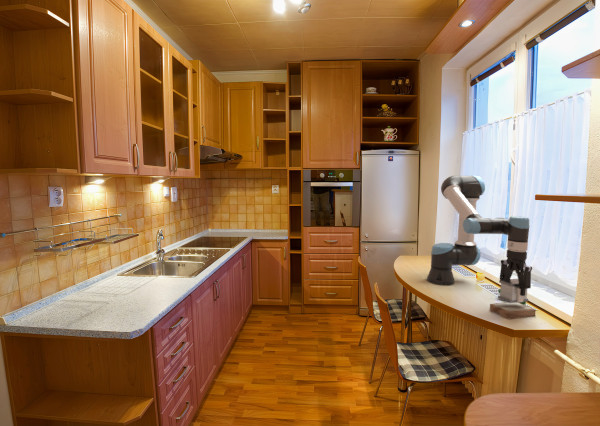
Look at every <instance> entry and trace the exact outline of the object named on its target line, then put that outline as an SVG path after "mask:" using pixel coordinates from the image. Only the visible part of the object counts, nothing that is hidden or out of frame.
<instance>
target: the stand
mask: <svg viewBox="0 0 600 426" xmlns="http://www.w3.org/2000/svg"><path fill="white" fill-rule="evenodd" d="M489 310H490V312H493V313H495V314H496V315H499V316H501V317H503V318H505V319H508V320H513V319H521V318H530V317H536V311H537V310H536V309H535V308H532V307H530V306H528V305H526V304H524V305H523V304H521V303H518V302H516V303H508V302H506V301H504V302H497V303H489Z"/></svg>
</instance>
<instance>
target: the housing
mask: <svg viewBox="0 0 600 426" xmlns="http://www.w3.org/2000/svg"><path fill="white" fill-rule="evenodd" d="M499 283H500V288H499V289H500V293H499V295H498V296H497V299H498V300H501V301H504V302H508V303H516V302H517V294H518V288H519V287H520V286H519V281H518V278H510V279H506V280H500V279H499ZM523 302H526V303H527V302H529V298H528V289H526V291H525V296H524V298H523Z"/></svg>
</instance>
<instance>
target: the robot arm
mask: <svg viewBox="0 0 600 426" xmlns="http://www.w3.org/2000/svg"><path fill="white" fill-rule="evenodd" d="M485 190H486V184H485V181H484V179H483V178H482V177H481V176H479V175H478V176H477V175H451V176H448V177H447V178H445V180H444V181H442V183H441V185H440V192H441V194H442V196H443V197H444V199H447V200H448V201H449V203H450V204H451V205H452V207H453V209H455V211H456V212H457V214H458V226H457V227H458V230H457V240H455V241H454V244H453V243H450V242H449V243H448V242H440V243H435V244H433V245H432V247H431V257H430V258H431V259H430V269H429V272H428V274H427V276H426V277H427V278H426V281H428V282H429V283H432V284H433V285H437V286H438V285H439V286H453V285H454V284H455V277H454V273H453V266H474V265H477V264H478V263H479V261H480V259H481V249H480V248H479V247H478V246H477V243H476V242H475V235H486V234H488V235H506V236H507V242H506V243H507V245H506V246H507V247H506V248H507V250H506V259H501V260H500V265H501V267H500V273H499V280H506V279H512V276H513V273H514V271H515V273H516V276H517V279H518V281H519V286H520V287H519V288H518V294H517V302H523V298H524V296H525V291H526V289H527V290H528V289H531V287H532V284H531V283H532V280H531V279H532V270H533V267H532V266H529V265H527V264H526V262H527V261H526V260H527V258H528V252H527V251H528V248H529V247H528V245H529V244H528V243H529V235H530V233H529V232H530V227H531V226H530V219H529V217H527V216H518V215H516V216H515V215H512V216H509V217H508V218H504V217H495V218H483V217H482V216H481V215H480V214H479V212H478V211H477V201H478V200H480V199H481V198H480V196H482V195H484V194H485Z"/></svg>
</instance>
